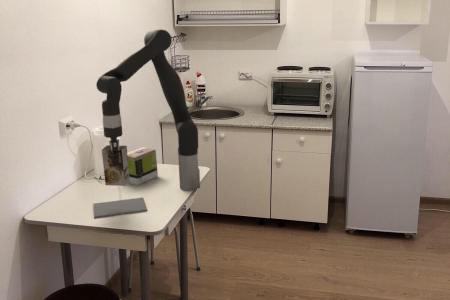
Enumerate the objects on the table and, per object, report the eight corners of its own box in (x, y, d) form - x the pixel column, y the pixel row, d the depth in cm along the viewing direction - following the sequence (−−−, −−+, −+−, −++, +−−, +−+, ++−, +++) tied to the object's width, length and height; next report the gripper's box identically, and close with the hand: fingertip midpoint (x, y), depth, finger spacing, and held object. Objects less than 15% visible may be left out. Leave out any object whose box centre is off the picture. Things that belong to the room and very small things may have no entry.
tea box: (144, 173, 254) (142, 146, 250) (158, 176, 248) (156, 149, 244) (122, 181, 242) (120, 153, 238) (137, 185, 237) (134, 157, 232)
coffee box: (130, 180, 211) (127, 145, 206) (125, 186, 205) (122, 149, 200) (110, 180, 212) (106, 144, 207) (104, 185, 206) (101, 149, 201)
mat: (143, 198, 221) (143, 197, 221) (147, 211, 208) (147, 209, 208) (93, 205, 215) (93, 203, 215) (94, 218, 202) (94, 216, 202)
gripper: (102, 121, 206) (105, 157, 211) (104, 129, 193) (107, 168, 198) (120, 120, 208) (123, 156, 213) (123, 128, 195) (126, 166, 200)
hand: (115, 161), depth 205 cm, fingers closed on coffee box, 8 cm apart
